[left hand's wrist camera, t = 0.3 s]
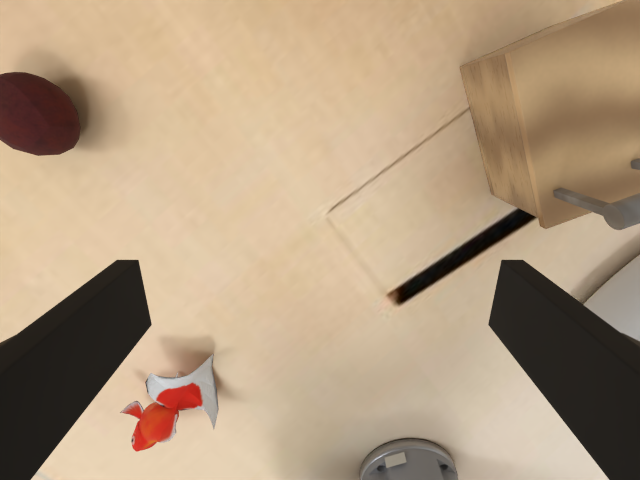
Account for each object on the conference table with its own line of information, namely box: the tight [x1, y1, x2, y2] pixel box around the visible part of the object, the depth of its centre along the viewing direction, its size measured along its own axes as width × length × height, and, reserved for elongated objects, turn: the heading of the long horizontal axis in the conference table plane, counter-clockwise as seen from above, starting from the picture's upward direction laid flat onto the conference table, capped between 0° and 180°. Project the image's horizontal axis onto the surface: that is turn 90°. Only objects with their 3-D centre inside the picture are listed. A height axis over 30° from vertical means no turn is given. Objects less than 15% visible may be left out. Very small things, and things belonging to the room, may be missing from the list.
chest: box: [460, 0, 625, 218], centre depth 32 cm, size 14×9×9 cm, turn 23°
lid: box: [505, 0, 640, 230], centre depth 24 cm, size 15×9×8 cm, turn 23°
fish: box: [120, 354, 218, 451], centre depth 45 cm, size 11×16×10 cm
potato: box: [0, 72, 80, 156], centre depth 33 cm, size 7×8×7 cm
